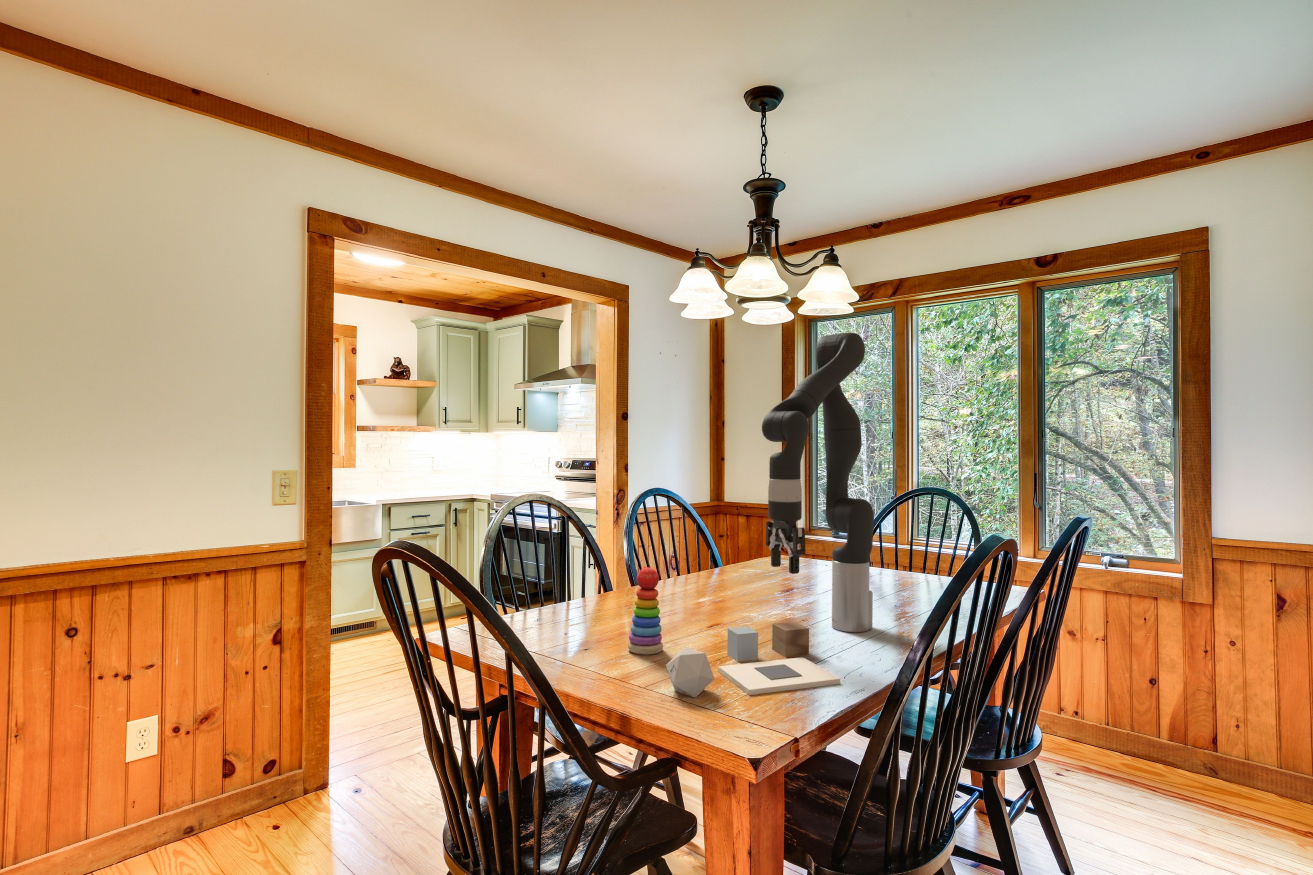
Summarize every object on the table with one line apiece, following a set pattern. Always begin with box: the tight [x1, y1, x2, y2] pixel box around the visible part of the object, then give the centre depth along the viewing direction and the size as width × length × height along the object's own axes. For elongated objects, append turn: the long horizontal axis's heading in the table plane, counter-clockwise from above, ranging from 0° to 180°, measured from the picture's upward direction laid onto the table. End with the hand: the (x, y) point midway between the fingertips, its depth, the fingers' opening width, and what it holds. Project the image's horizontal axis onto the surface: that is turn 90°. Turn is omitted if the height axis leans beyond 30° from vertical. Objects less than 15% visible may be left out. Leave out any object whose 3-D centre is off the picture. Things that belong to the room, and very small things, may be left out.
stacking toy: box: [627, 567, 664, 656], centre depth 157 cm, size 8×8×19 cm
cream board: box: [717, 656, 841, 696], centre depth 140 cm, size 20×14×1 cm
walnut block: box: [771, 621, 810, 658], centre depth 157 cm, size 6×6×6 cm
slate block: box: [727, 626, 759, 663], centre depth 153 cm, size 5×5×6 cm
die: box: [665, 647, 715, 698], centre depth 131 cm, size 8×9×10 cm
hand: (784, 569), depth 157 cm, fingers open, 8 cm apart
